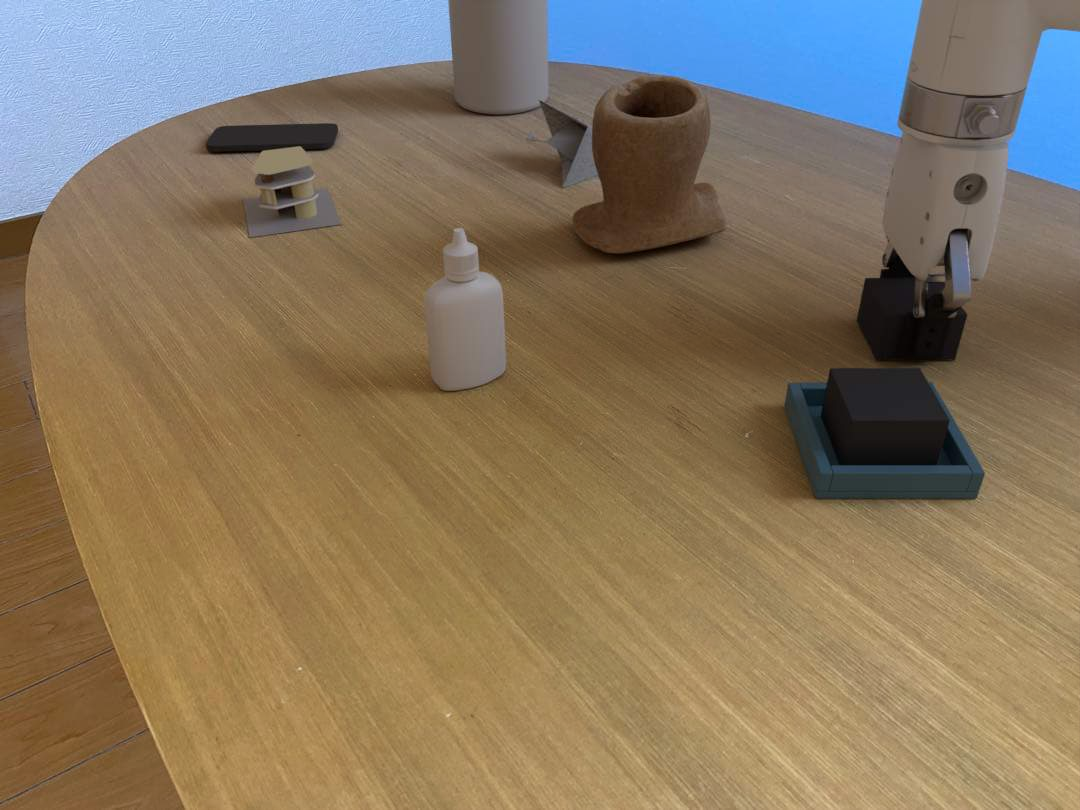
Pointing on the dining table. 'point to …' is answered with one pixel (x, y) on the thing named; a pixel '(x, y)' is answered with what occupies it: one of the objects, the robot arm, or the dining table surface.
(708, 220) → the stone cup
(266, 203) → the stacked layers on plate
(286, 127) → the phone
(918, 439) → the dark brown square block
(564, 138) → the paper boat
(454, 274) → the eye dropper bottle
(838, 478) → the dock
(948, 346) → the black block
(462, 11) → the cylinder vase
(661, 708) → the dining table surface
